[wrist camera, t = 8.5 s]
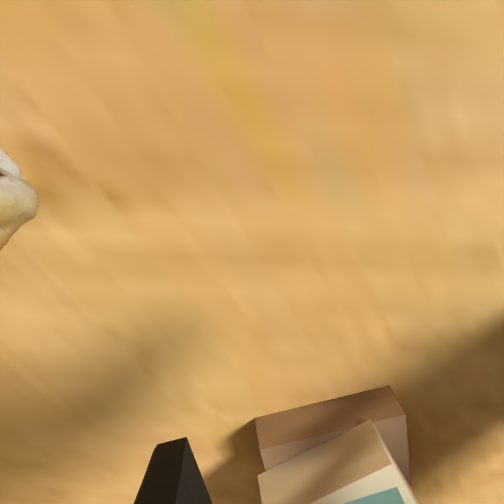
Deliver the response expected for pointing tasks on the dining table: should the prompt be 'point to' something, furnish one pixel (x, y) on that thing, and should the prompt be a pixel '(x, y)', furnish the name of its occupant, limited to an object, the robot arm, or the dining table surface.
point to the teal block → (380, 498)
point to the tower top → (336, 472)
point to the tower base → (334, 426)
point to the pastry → (14, 198)
